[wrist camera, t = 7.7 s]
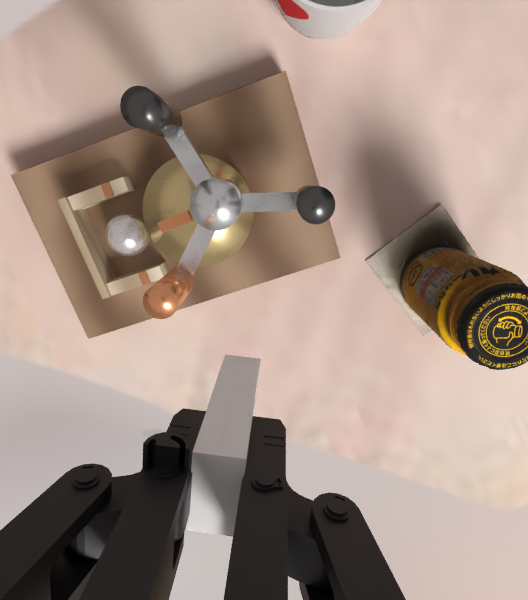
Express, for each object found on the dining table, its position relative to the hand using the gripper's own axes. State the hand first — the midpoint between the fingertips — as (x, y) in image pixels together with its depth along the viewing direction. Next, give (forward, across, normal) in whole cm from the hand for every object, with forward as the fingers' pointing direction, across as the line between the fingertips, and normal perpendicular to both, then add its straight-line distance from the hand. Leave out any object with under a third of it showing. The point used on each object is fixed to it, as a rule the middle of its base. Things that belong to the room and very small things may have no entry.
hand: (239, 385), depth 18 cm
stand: (+19, +7, -5) cm, 21 cm away
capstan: (+17, +4, -7) cm, 18 cm away
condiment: (+19, -14, -2) cm, 24 cm away
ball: (+16, +10, -3) cm, 20 cm away
